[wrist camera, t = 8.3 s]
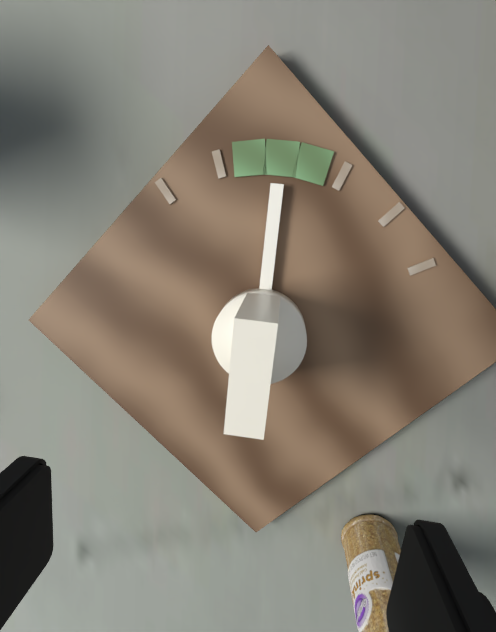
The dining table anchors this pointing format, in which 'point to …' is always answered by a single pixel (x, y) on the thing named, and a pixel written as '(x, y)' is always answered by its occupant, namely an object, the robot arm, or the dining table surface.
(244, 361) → the tuning knob
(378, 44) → the dining table surface
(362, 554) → the sprinkles bottle
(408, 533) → the robot arm
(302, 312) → the dial board
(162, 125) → the dining table surface
